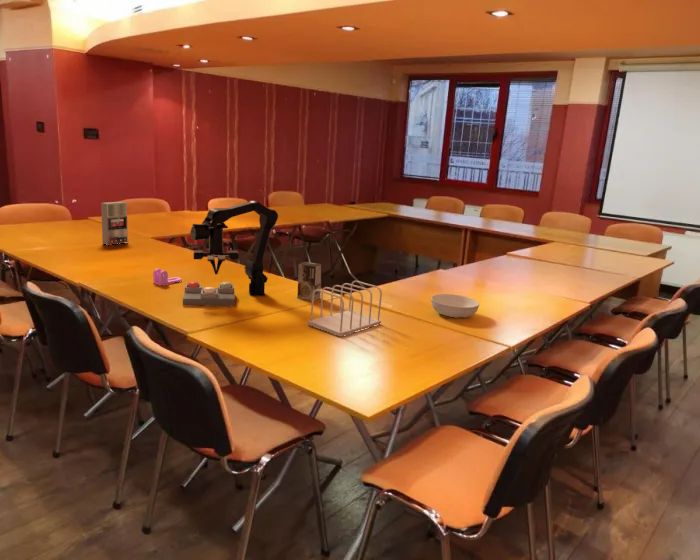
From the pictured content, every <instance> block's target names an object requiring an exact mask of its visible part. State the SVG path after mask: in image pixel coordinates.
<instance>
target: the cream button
mask: <svg viewBox="0 0 700 560" xmlns="http://www.w3.org/2000/svg"><path fill="white" fill-rule="evenodd" d="M203 288H204V293H215V288H216V287H212V286H206V287H203Z"/></svg>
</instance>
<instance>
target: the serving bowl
mask: <svg viewBox="0 0 700 560" xmlns="http://www.w3.org/2000/svg"><path fill="white" fill-rule="evenodd" d="M430 303H431V305H432V309H434V310H435V311H436V312H437V313H438V314H441V315H442V314H443V316H445V315H446V316H445V317H447V316H451V317H464V318H469V317H471V316H474V314H476V313H477V311H478V310H479V307H480V303H479V301H478V300H476V299H475V298H471V297H468V296H464V295H461V294H460V295H459V294H452V293H439V294H434V295H432V296H431V298H430ZM451 317H450V318H451Z"/></svg>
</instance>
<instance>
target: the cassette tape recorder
mask: <svg viewBox="0 0 700 560" xmlns="http://www.w3.org/2000/svg"><path fill="white" fill-rule="evenodd" d="M100 205H101V207H100V209H101V233H102V242H101V244H102V243H103V244H107V245H106V246H108V245H110V246H113V245H112V244H117V243H124V242H129V238H128V235H129V234H128V207H127V205H128V202H125V201H113V202H112V201H108V202H101V203H100ZM103 244H102V245H103Z"/></svg>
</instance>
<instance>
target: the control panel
mask: <svg viewBox="0 0 700 560" xmlns="http://www.w3.org/2000/svg"><path fill="white" fill-rule="evenodd" d="M202 286H203V285H202V283H199V285H198V288H197V287H188V283H186V284H185V285H184V293H183V296H182V306H183V305H187V307H188V305H189V307H195V306H194V305H203V306H204V305H205V307H207V306H206V305H210V306H209V307H214V306H216V307H235V304H236V303H235V298H236V297H235V284H232V283H231V288H221V283H219V284H218V285H217V287H214V288H215V293H204V288H205V287H202ZM190 305H191V306H190ZM192 305H193V306H192ZM211 305H212V306H211ZM203 306H202V307H203Z"/></svg>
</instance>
